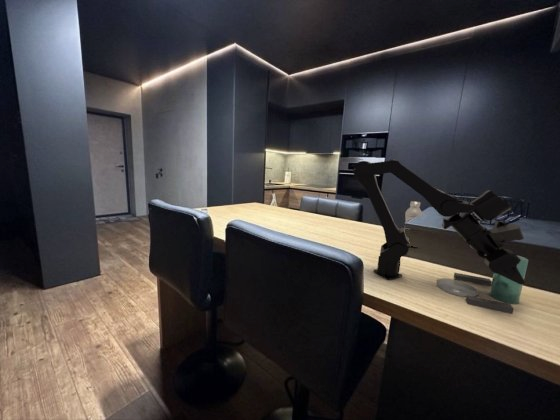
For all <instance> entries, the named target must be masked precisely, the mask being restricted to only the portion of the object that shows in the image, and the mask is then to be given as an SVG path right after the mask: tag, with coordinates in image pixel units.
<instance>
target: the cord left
mask: <svg viewBox="0 0 560 420" xmlns="http://www.w3.org/2000/svg"><path fill="white" fill-rule="evenodd" d="M453 279H457V280H459V281H461V280H462V282H466V281H467V282H466V283H471V282H472V284H477V285H483V286H487V287H488V286H489V287H491V284H492V279H490V278H486V277H482V276H481V277H480V276H475V275H470V274H465V273H464V274H463V273H460V272H459V273H458V272H454V275H453Z"/></svg>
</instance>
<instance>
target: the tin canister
mask: <svg viewBox="0 0 560 420" xmlns="http://www.w3.org/2000/svg"><path fill="white" fill-rule="evenodd" d="M516 255H517V254H516ZM517 256H518V257H519V258H520V259H521V261H520V263H519V264H517V269H518V271H519V272H520V274H521V276H522V278H523V279H524V280H525V277H526V274H527V273H526V272H527V268H528V264H529V259H528V258H526V257H523V256H521V255H517ZM491 281H492V283H491V286H490V289H489V296H490V297H492V298H493V299H494V300H495V299H496V301H498V302H503V303H507V304H511V305H517V304H519V303H520V299H521V298H520V297H521V295H522V291H523V287H524V284H522V285H520V284H518V283H516V282H514V281H512V280H510V279H508V278H506V277H504V276H501V275H499V274H496V273H493V275H492V279H491Z"/></svg>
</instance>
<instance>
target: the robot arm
mask: <svg viewBox="0 0 560 420" xmlns="http://www.w3.org/2000/svg"><path fill="white" fill-rule="evenodd" d="M352 173H353V176H354V177H355V179H356V180H357V181H358V183H359V184H360V185H361V187H363V188H364V190H365V192H366V194H367V196H368V198H369V200H370V202H371V205H372V206H373V209H374V211H375V214H376V216H377V218H378V220H379V222H380V225H381V227H382V229H383V231H384V237H385V242H384V244H382V245H381V246H380V252H379V255H378V261H377V268H376V269H373V273H375V274H377V275H379V276H381V277H382V278H384V279H386V280H387V281H388V280H394V279H398V278H403V274H401V273H400V270H401V257H404V256H406V255H407V254H408V252H409V251H410V250H409V246H408V244H410V242H409V238H408V237H407V236H406V234H405V228H404V227H405V226H403V227H401V228H399V226H397V224H396V223H395V220H394V218H393V215H392V214H391V212H390V209H389V207H388V205H387V203H386V201H385V197H384V196H383V194H382V192H381V190H380V187H379V185H378V180H377V179H378V178H377V175H381V174H382V175H383V174H389V173H390V174H392V175H394V176H395V177H396V178H397V179H398V180H400V181H402V182H403V183H404V184H406V185H407V186H409V187H410V188H411V189H413V191H415V192H417V193H418V194H419V195H420V196H422V197H423V198H424V199H425V200H426V201H427V202H428V203H429V205H431V206H432V207H433V209H434V210H435V211H436V212H437V213H438V214H439V215H441V216H443V218H442V222H441V226H442V228H443V229H444V230H447V229H448V228H450V227H451V228H452V229H454V231H455V232H456V233H458V235H459V236H460V237H461V238H462V239H463V240H464V241H465V242H466V244H467V245H469V247H470V248H471V249H472V250H473V252H475V253H476V254H477V256H479V257H480V258H482V259H484V261H483V262H484V264H485V265H486V266H487V267H488V269H489V270H490V271H491V272H493V274H494V273H496V274H499V275H501V276H504V277H506V278H508V279H510V280H512V281H514V282H516V283H518V284H520V285H522V284H523V285H524V284H525V283H526V282H525V278H524V279H523V278H522V276H521V274H520V272H519V271H518V269H517V264H519V263H520V261H521V259H520V258H519V257H518V256H519V255H518V256H517V254H516V253H514V252H513V251H512V250H511V249H507V248H503V246H505V244H504V243H509V242H513V241H521V240H522V241H523V240H525V237H524V235H523V231H522V230H521V227H520V226H519V225H517V224H515V223H508V224H507V223H505V222H504V221H503V220H499V221H495V222H494V226H493V227H491V228H489V229H488V228H487V227H485V226H483V225H482V224H481V223H480V221H482V222H484V220H485V221H486V222H491V221H493V220H494V219H497V218H498V217H499V216H501V215H503V214H505V213H507V212H508V211H510V210H512V207H511V206H510V204H509V203H508V202H507V201H506V200H505V199H503V198H501V197H500V196H499V195H497V194H496V193H495V192H494V191H493V190H489V189H488V190H486V191H484V192H483V193H482V194H481V195H479V196H478V197H476V198H474V199H473V200H471V201H470V202H469V201H468V200H467V201H466V200H461V199H460V200H459V199H458V198H457V197H455V196H452V195H451V194H449V193H447V192H444V191H442V190H440V189H438V188H437V187H433V185H431V184H429V183H428V182H426V181H425V180H424V179H422V178H421V177H420V176H418V175H417V174H415V172H413V171H411V170H410V169H409V168H407V167H406V166H404V165H403V164H402V163H401V162H400V161H399V160H397V159H390V160H386V161H385V160H384V161H378V162H377V161H376V162H370V161H366V160H361V161H358V162H357V163H355V165H354V166H353V169H352ZM473 214H474V215H475V216H476V217H475V216H474V215H473ZM444 217H445V218H444ZM446 217H447V218H446ZM477 219H479V220H480V221H478V220H477ZM500 248H501V249H500Z"/></svg>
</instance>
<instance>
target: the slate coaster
mask: <svg viewBox="0 0 560 420" xmlns="http://www.w3.org/2000/svg"><path fill="white" fill-rule="evenodd" d="M435 284H437V285H436V286H437V287H438V288H439V289H440V290H442V291H444V292H445V293H448V294H451V295H453V296H457V297H461V298H466V296H467V295H469V296H474V297H478V294H479V291H478V289H477V288H476V287H475V286H473V285H471V284H469V283H468V282H466V281H461V280H455V278H447V277H446V278H445V277H443V278H437V280H436V281H435Z"/></svg>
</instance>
